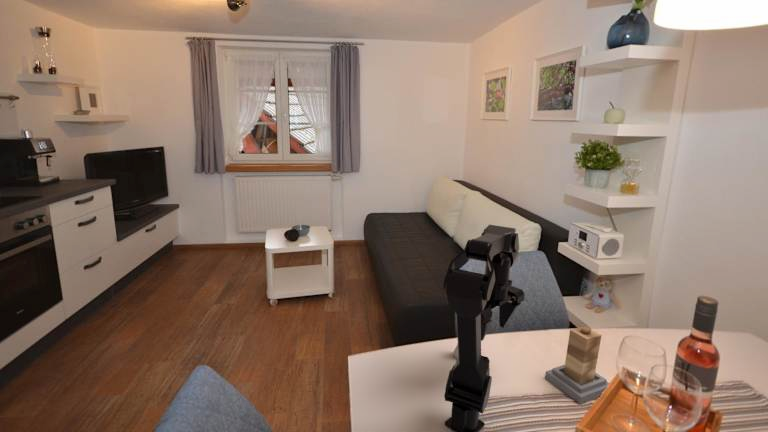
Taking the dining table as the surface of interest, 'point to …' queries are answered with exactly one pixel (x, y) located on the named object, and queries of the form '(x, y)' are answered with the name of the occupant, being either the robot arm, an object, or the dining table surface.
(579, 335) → the oak brick column
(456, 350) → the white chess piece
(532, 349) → the dining table surface
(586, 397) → the base plate
